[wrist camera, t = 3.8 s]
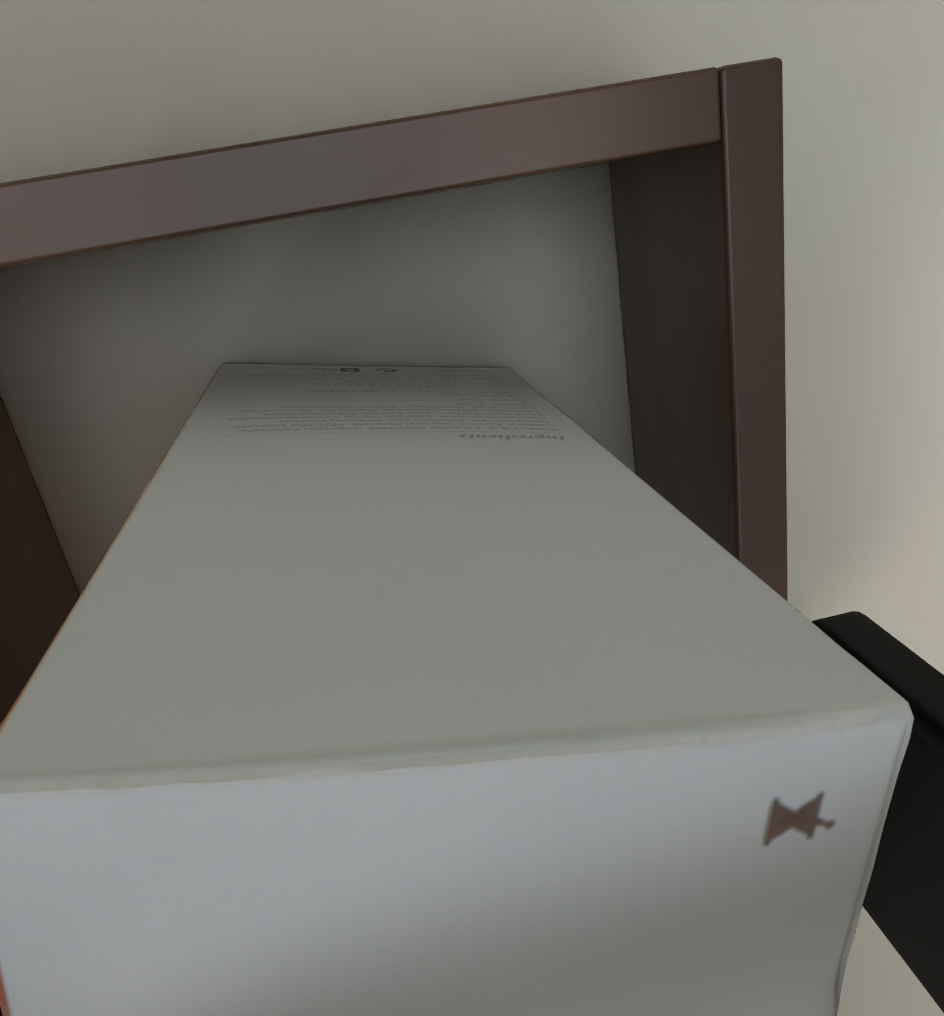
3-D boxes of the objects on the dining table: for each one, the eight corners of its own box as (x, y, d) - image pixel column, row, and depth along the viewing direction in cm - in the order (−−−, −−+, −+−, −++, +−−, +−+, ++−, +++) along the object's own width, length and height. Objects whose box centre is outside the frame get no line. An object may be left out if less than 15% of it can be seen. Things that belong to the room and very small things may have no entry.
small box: (215, 359, 16) (-85, 780, 4) (514, 362, 17) (958, 698, 5) (238, 694, 19) (100, 1530, 7) (494, 678, 20) (755, 1367, 8)
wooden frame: (149, 875, 20) (99, 1069, 16) (-126, 230, 14) (-339, 237, 10) (692, 733, 22) (791, 871, 17) (649, 101, 16) (784, 54, 11)
